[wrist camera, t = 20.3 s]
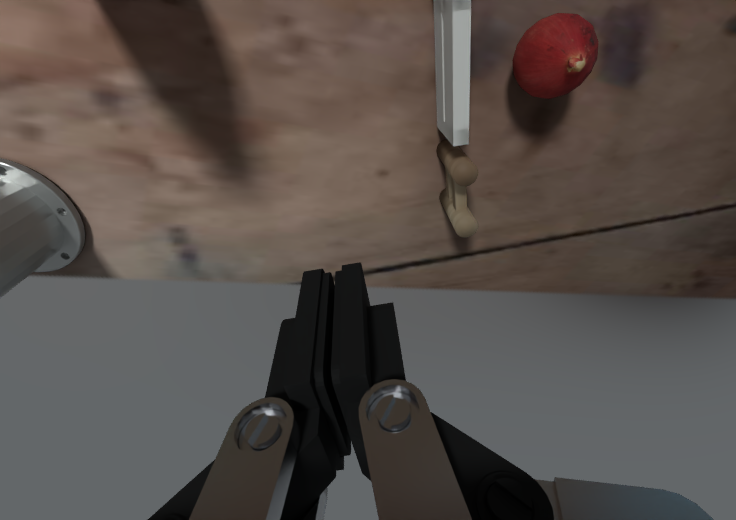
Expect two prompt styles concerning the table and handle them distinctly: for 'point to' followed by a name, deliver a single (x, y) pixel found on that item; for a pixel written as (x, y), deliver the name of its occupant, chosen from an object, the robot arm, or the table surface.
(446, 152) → the fence
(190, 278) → the table surface
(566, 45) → the onion
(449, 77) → the gate
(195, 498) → the robot arm
